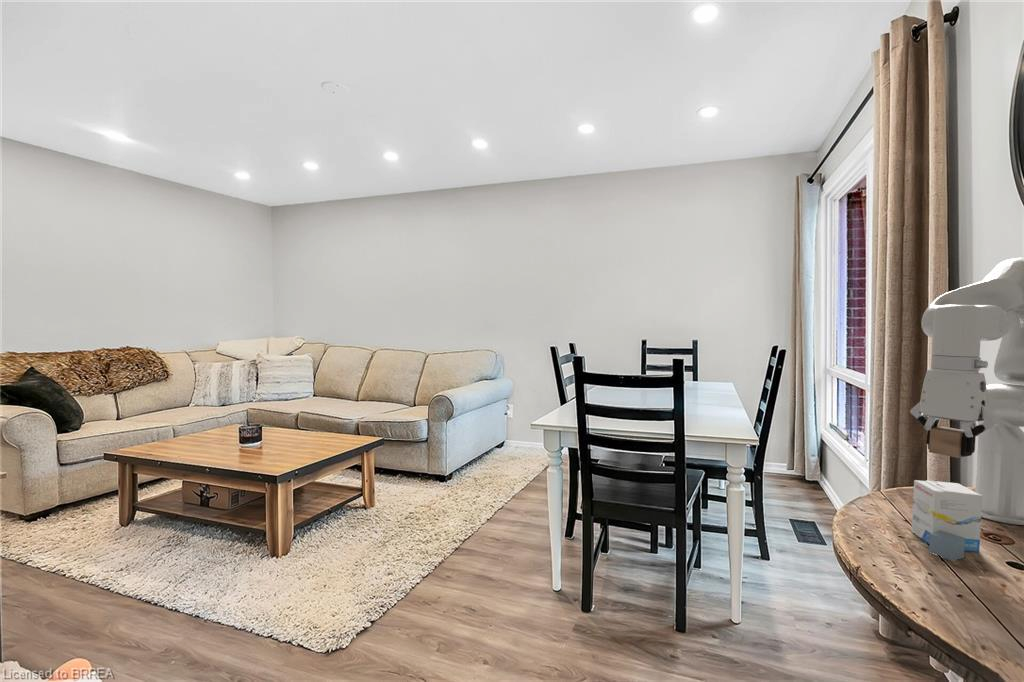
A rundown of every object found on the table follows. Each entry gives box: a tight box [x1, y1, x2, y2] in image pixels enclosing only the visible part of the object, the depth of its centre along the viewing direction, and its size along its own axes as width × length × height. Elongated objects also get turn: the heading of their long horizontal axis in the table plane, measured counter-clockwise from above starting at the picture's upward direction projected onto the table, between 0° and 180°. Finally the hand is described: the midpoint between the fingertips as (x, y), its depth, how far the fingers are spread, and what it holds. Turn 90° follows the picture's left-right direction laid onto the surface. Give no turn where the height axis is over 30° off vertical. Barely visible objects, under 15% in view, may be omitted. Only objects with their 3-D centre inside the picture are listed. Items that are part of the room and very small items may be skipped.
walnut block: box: [928, 426, 965, 459], centre depth 108 cm, size 5×5×5 cm
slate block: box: [928, 530, 965, 562], centre depth 102 cm, size 4×4×4 cm
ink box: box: [911, 479, 982, 553], centre depth 109 cm, size 9×8×12 cm
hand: (949, 451), depth 108 cm, fingers closed on walnut block, 4 cm apart
